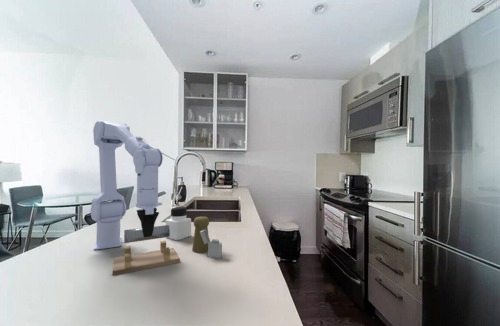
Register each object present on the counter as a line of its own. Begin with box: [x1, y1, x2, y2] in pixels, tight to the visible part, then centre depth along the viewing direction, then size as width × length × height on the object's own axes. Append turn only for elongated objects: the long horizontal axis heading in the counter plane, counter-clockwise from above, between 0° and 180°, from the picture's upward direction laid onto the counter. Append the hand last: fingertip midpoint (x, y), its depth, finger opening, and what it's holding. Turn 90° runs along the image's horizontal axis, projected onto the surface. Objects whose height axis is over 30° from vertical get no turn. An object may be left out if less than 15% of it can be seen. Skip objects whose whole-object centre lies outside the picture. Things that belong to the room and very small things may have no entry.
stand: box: [111, 240, 181, 276], centre depth 66 cm, size 10×17×4 cm, turn 119°
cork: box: [191, 216, 210, 254], centre depth 76 cm, size 6×6×11 cm
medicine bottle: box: [165, 205, 192, 241], centre depth 90 cm, size 7×7×12 cm
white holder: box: [200, 229, 223, 259], centre depth 71 cm, size 7×2×8 cm, turn 72°
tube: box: [123, 224, 170, 244], centre depth 66 cm, size 4×12×4 cm, turn 119°
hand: (147, 234), depth 66 cm, fingers closed on tube, 4 cm apart
